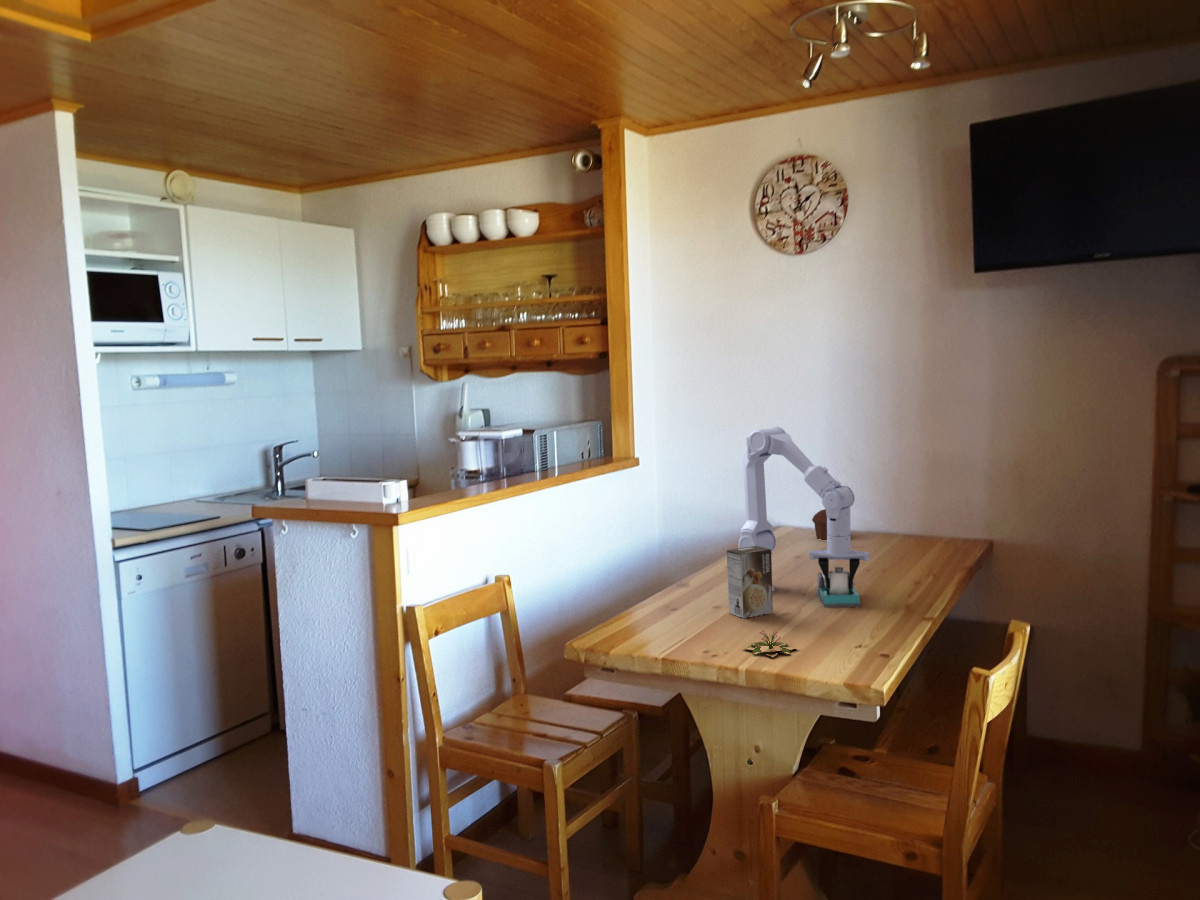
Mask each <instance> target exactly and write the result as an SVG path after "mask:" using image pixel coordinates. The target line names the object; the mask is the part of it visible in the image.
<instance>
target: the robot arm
mask: <svg viewBox="0 0 1200 900" xmlns="http://www.w3.org/2000/svg"><path fill="white" fill-rule="evenodd" d="M745 441H746V446H745V449H744V452H743V455H742V467H743V468H742V469H743V481H744V482H743V483H744V485H743V486H744V487H743V488H744V500H745V501H744V503H745V504H744V505H745V523H744V524H743V526H742V527H741V529H740V536H739V540H738V548H744V547H751V546H759V547H763V548H767V549H771V556H772V555H773V552H774V550H775V548H776V546H777V538H776V535H775V534H774V530H773V525H772V524H771V523H770V522H769V521H768V518H767V498H766V497H767V495H766V481H765V479H766V478H765V476H766V475H765V462H766V461H767V460H768V459H769V458H770V457H771V456H772V455H776V456H777V455H778V456H783V457H784V458H785V460H787V461H788V462H790V463H791V464H792V465H793V466H794V467H795V468H796V469H797V470H799V472H800V473H802V474H803V475H804V482H805V483H806V484H807V486H809V488H811V490H812V491H814V492H815V494H816V495H818V496H819V497H820V499H821V504H822V506H823V507H824V509H826V515H827V541H826V549H821V550H809V551H808V552H809V553H808V554H809V556H808V557H809V560H812V561H813V560H818V562H817V564H818V565H819V568H820V570H821V573H822V574H823V575H824V578H825V581H826V587H827V588H829V572H830V571H829V570H830V568H829V567H830V566H829V565H830V564H829V563H830V561H829V560H833V561H834V560H837V561H838V560H839V561H840V560H843V561H844V560H845V561H847V560H848V561H849V572H850V575H849V589H852V583H853V581H854V578H855V576H856V573H857V570H858V568H859V566H860V565H861V564H860V563H861V562H860V561H866V562H867V561H870V556H869V555H870V553H869V551H859V550H852V549H851V545H852V544H851V507H852V506H853V505H854V503H855V493H854V492H853V490H852V489H851V487H850V486H847V485H842V484H841V482H840V481H839V480H836V479H835V478H834V477H833V476H832V475H831V474H830V473H829V472H828V471H829V469H828V468H827V467H825V466H822V465H814V464H813V463H812V461H811V460H810V459H809V458H808V457H807V456H806V455H805V453H804V452H803V451H802V450H801V449H800V448H799V447H798V445H796V443H794V441H793V439H792V436H791V435H790V434H789V433H788V432H787V431H786V430H784V429H783V427H780V426H772V427H769V428H768V427H767V428H762V429H761V428H757V429H754V430H752V432H750V433H749V434H748V435H747V436H746V440H745ZM772 592H775V588H774V586H773V584H772Z"/></svg>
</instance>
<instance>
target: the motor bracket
mask: <svg viewBox="0 0 1200 900" xmlns="http://www.w3.org/2000/svg"><path fill="white" fill-rule="evenodd" d="M848 572H849V575H850V571H848ZM816 583H817V584H816V585H817V589H815V595H816V597H817V596H818V597H817V599H818V600H819V601H821V602H820V603H821V605H822V604H823V605H822V607H823V606H824V607H823V608H861V607H862V604H861V600H860V598H861V597H860V594H859V592H858V591H857V590H856V589H855V587H854V586H855V585H856V580H853V583H852V589H849V594H835V595H829V588H827V587H826V581H825V578H824V575H823V573H822V572H818V573H817V582H816Z"/></svg>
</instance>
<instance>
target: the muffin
mask: <svg viewBox="0 0 1200 900" xmlns="http://www.w3.org/2000/svg"><path fill="white" fill-rule="evenodd" d="M811 521H812V523H813V524H814V531H815V537H817V538H816V540H817V539H821V540H827V515H826V509H825V508H824V509H820V510H819V511H818V512H816V513H815V514H814V515H813V517H812V519H811ZM821 540H820V541H821Z"/></svg>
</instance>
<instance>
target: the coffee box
mask: <svg viewBox="0 0 1200 900" xmlns="http://www.w3.org/2000/svg"><path fill="white" fill-rule="evenodd" d="M726 555H727V556H726V558H727V562H726V563H727V565H726V566H727V591H728V592H727V593H728V599H727V600H728V614H730V613H731V614H730V615H732V614H733V615H732V616H735V615H736V617H738V616H739V617H738V618H740V617H742V618H741V619H743V618H745V619H748V618H747V617H750V618H753V616H755V617H759V616H758V615H760V616H763V614H765V615H769V614H773V613H774V604H773V603H774V600H773V596H774V595H773V591H772V585H773V568H772V565H773V562H772V561H773V560H772V555H771V549H767V548H763V547H759V546H751V547H744V548H739V547H737V548H732V549H727V550H726Z"/></svg>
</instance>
